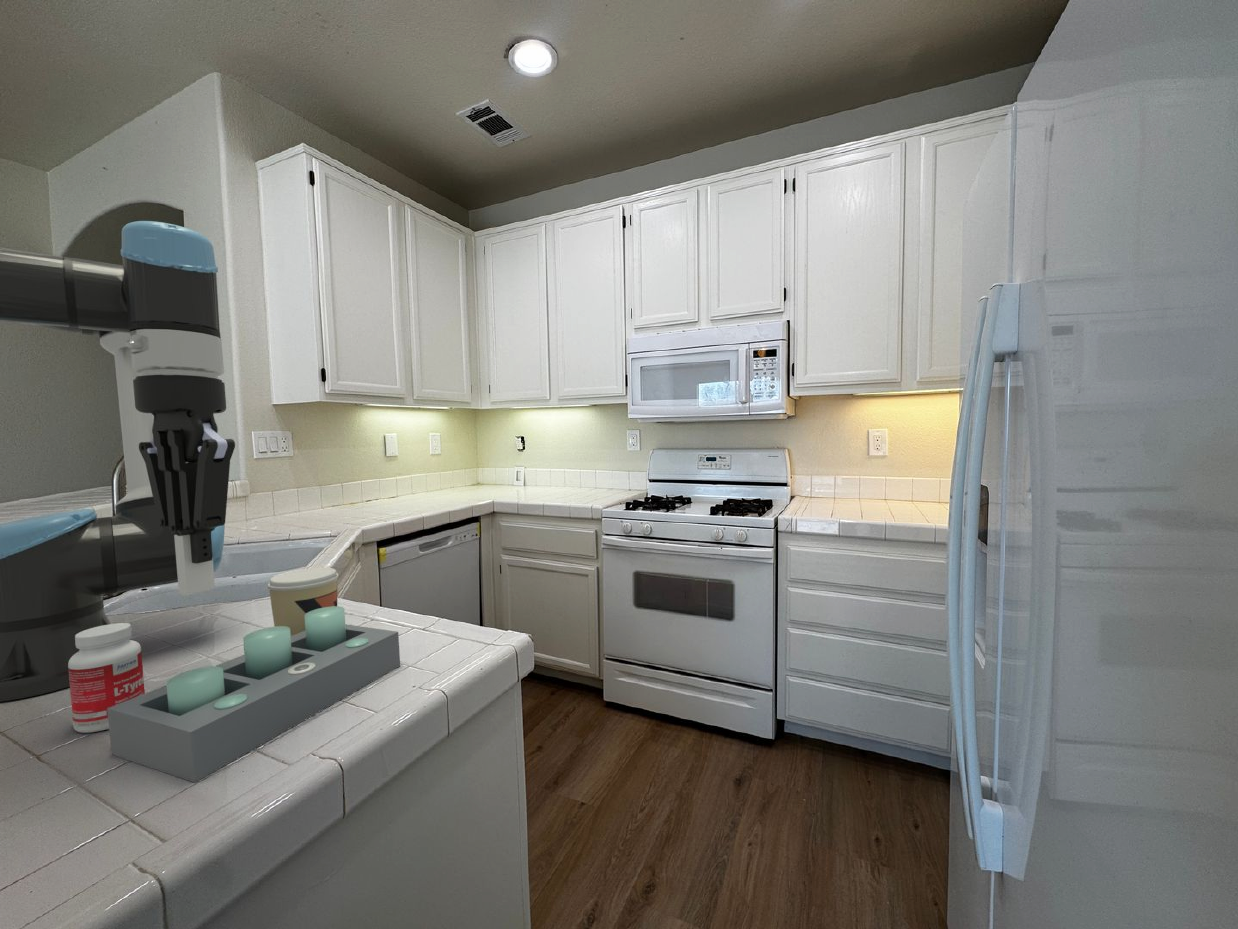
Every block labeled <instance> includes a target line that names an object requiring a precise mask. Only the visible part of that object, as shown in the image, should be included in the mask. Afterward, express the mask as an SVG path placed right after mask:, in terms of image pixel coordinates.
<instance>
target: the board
mask: <svg viewBox="0 0 1238 929" xmlns="http://www.w3.org/2000/svg"><path fill="white" fill-rule="evenodd" d="M345 627H346V641H345V642H343V643H341V644H339V645H336V646H334V647H332V648H330V649H328V650H325V651H323V652H319V651H313V650H307V644H306V630H305V631H303V632H300V633H298V634H295V635H293V636H291V650H292V664H293V665H292V666H290V667H288V668H285V669H283V670H281V671H279V672H277V673H274V674H272V675H270V676H268V677H265V678H263V679H261V680H257V679H253V678H248V677H246V668H245V655H244V654H243V655H242V654H241V655H240V656H237V657H234V658H231V659H229V660H227V661H225V662H221V663H220V664H216V665H215V666H217V667H221V668H223V676H224V689H225V696H223V697H221V698H219V699H217V700H214V701H212V702H210V703H208V704H205V705H203V706H201V707H199V708H197V709H194V710H192V711H190V712H188V713H185V714H183V715H181V716H177V715H174V714H170V713H169V709H168V697H167V685H163V686H161V687H158V688H156V689H153V690H150V691H147V692H145V694H143V695H140V696H138V697H135V698H133V699H130V700H127V701H125V702H122V703H120V704H117V705H115V706H112V707H110V708H107V711H108V722H109V729H108V732H109V742H110V751H111V752H110V754H111V755H113V756H115V757H119V758H122V759H125V760H127V761H130V762H133V763H135V764H139V765H142V766H145V767H147V768H151V769H154V770H156V771H160V772H163V773H165V774H168V775H172V776H174V777H177V778H180V779H183V780H187V781H189V782H191V783H193V784H194V783H197V782H199V781H200V780H202V779H203V778H205V777H207V776H209V775H210V774H212V773H214V772H216V771H218V770H220V769H221V768H223V767H225V766H226V765H229V764H230V763H232V762H234V761H235V760H237V759H239V758H241V757H242V756H244V755H246V754H248V753H249V752H251V751H253V750H254V749H257V748H258V747H260V746H262V745H263V744H265V743H267V742H269V741H270V740H272V739H274V738H277V737H278V736H279V735H281V734H283V733H285V732H287V731H288V730H290V729H292V728H294V727H296V726H297V725H298V724H300V723H302V722H304V721H305V720H307V719H309V718H311V717H313V716H315V715H317V714H319V712H321V711H323V710H326V709H327V708H328V707H330V706H332V705H334V704H335V703H337V702H339V701H341V700H342V699H345V698H346V697H348V696H350V695H351V694H353V693H355V692H357V691H359V690H360V689H362V688H364V687H366V686H367V685H369V684H371V683H373V682H374V681H377V680H378V679H379V678H381V677H382V676H385V675H386V674H388V673H390V672H391V671H394V670H395V669H397V668H399V667H401V658H400V656H401V654H400V641H399V640H400V639H399V631H396V630H390V629H388V630H387V629H383V628H382V629H381V628H374V627H367V626H361V625H353V624H346V623H345Z"/></svg>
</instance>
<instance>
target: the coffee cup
mask: <svg viewBox="0 0 1238 929" xmlns="http://www.w3.org/2000/svg"><path fill="white" fill-rule="evenodd" d="M338 580H339V573H338V572H337V570H336V569H335V568H333V567H332V568H331V567H308V568H300V569H294V570H290V571H286V572H282V573H280V574H275V575H273V576H272V577H271V578H270V580H269V582H268V584H267V589H269V596H270V604H271V605H270V606H271V613H272V619H273V625H274V626H273V627H277V626H286V627H289V628H290V636H293V635H295V634H298V633H300V632H303V631H305V630H306V629H305V614H306V613H308V612H310V611H312V610H315V609H319V608H324V607H331V606H338V594H339V593H338Z"/></svg>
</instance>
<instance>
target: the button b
mask: <svg viewBox="0 0 1238 929" xmlns="http://www.w3.org/2000/svg"><path fill="white" fill-rule="evenodd" d="M242 642H243V652H244V654H243V655H245V668H246V677H248V678H253V679H257V680H261V679H263V678H265V677H268V676H270V675H272V674H274V673H277V672H279V671H281V670H283V669H285V668H288V667H290V666H292V665H293V664H292V650H291V636H290V628H289V627H286V626H277V627H274V626H270V627H265V628H260V629H258V630H255V631H252V632H248V633H247V634H246V635H245V636H243V640H242Z"/></svg>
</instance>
